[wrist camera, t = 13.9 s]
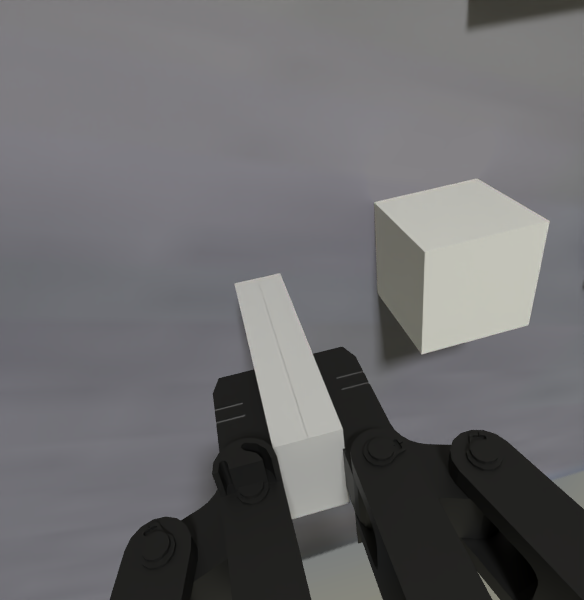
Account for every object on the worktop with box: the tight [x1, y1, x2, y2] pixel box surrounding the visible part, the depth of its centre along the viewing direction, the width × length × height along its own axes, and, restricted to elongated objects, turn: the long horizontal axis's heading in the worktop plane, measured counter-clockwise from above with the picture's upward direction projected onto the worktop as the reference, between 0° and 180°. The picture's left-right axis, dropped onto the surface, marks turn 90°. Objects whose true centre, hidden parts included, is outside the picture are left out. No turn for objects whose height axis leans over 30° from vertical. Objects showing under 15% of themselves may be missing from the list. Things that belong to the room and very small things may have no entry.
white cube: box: [374, 179, 549, 354], centre depth 16 cm, size 5×4×4 cm
